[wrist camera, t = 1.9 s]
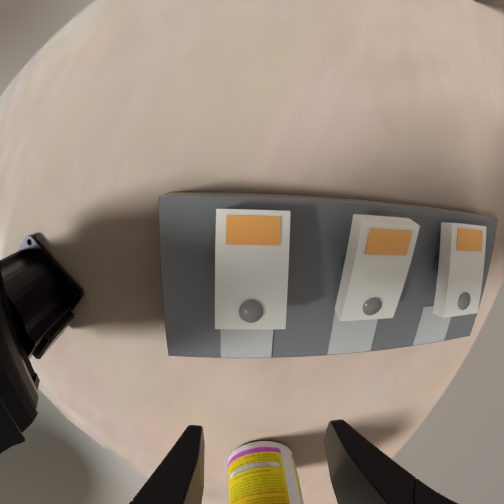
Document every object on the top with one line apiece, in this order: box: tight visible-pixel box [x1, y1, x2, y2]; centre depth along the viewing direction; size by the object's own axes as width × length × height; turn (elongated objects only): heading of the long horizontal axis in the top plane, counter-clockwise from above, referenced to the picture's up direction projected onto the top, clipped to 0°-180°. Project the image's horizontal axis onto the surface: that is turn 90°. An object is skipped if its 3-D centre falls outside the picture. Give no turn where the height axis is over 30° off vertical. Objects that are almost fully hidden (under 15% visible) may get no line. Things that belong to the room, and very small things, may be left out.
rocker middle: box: [335, 214, 420, 321], centre depth 16 cm, size 6×4×1 cm, turn 177°
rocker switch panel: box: [159, 192, 497, 358], centre depth 19 cm, size 24×10×4 cm, turn 88°
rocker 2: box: [433, 222, 486, 318], centre depth 16 cm, size 6×4×1 cm, turn 178°
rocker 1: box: [215, 209, 290, 330], centre depth 15 cm, size 6×4×1 cm, turn 178°
